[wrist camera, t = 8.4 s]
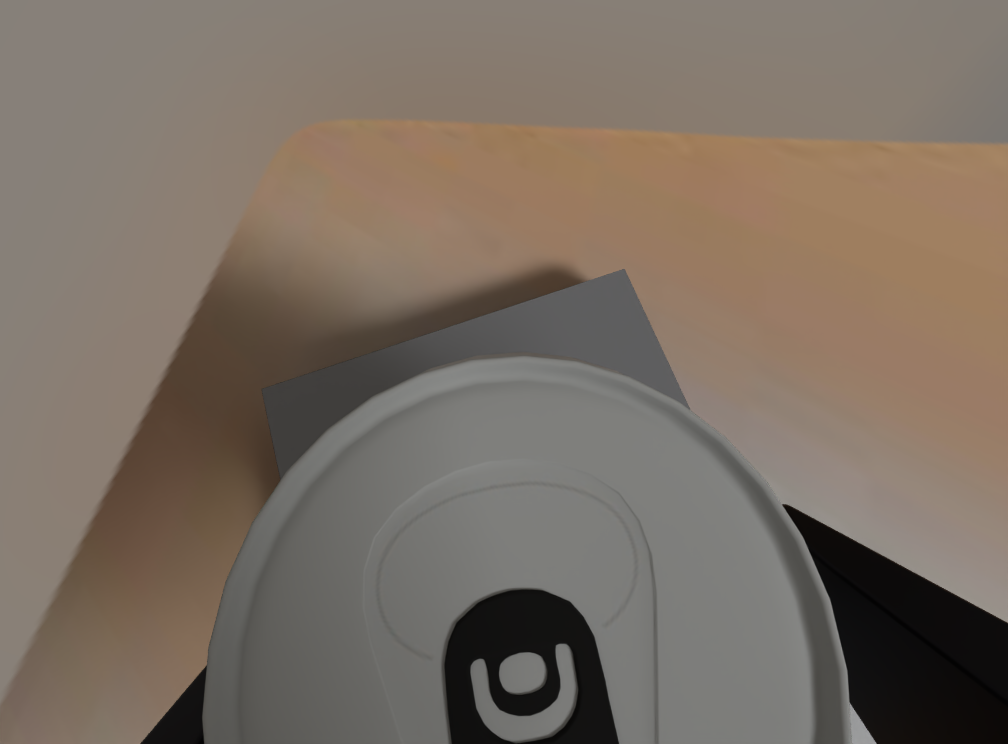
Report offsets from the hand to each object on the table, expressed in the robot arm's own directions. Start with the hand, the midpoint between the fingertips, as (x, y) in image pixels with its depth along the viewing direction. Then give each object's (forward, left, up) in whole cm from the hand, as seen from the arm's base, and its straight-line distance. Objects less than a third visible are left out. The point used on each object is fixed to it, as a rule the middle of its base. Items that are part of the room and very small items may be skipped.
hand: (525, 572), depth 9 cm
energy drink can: (0, 0, -10) cm, 10 cm away
